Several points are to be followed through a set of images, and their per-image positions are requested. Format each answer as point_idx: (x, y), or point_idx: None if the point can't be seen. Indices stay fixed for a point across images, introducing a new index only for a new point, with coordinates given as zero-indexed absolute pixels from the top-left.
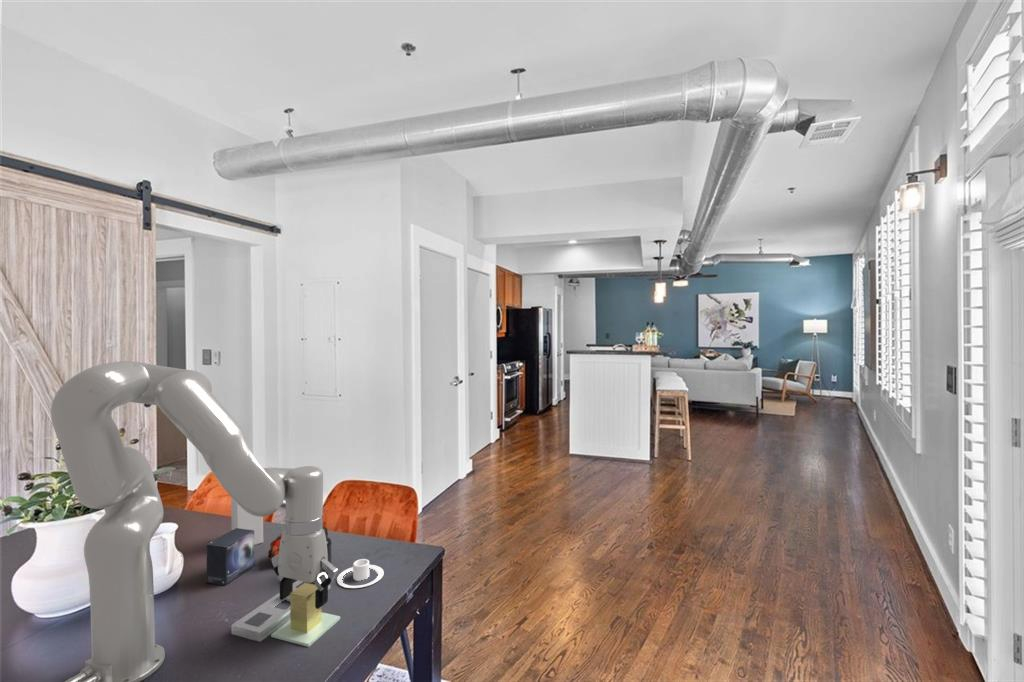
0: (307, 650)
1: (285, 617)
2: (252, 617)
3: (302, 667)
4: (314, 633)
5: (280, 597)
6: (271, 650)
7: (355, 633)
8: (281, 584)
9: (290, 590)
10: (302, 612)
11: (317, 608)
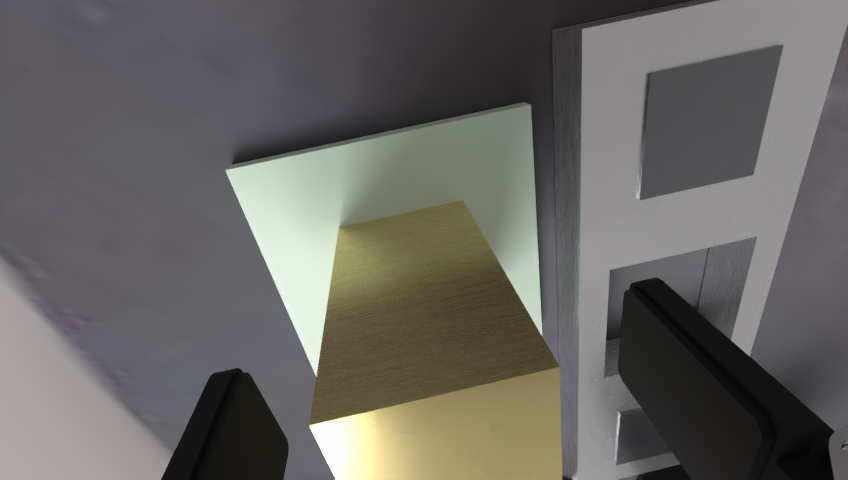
0: (204, 140)
1: (568, 239)
2: (760, 114)
3: (35, 3)
4: (299, 247)
5: (658, 289)
6: (406, 11)
7: (143, 357)
8: (766, 405)
9: (639, 383)
10: (372, 289)
11: (215, 373)
